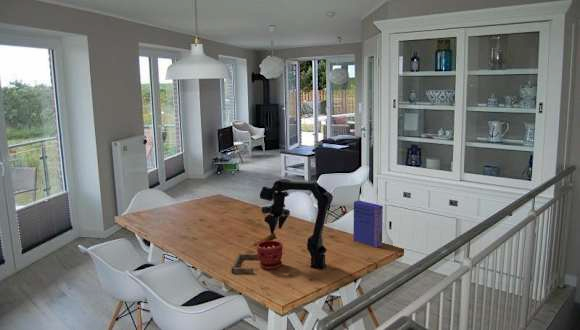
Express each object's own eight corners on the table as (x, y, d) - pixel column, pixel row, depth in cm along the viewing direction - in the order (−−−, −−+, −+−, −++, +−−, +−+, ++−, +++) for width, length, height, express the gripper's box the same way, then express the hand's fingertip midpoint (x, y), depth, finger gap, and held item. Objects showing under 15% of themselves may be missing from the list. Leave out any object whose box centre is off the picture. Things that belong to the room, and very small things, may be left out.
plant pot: (285, 262, 247) (285, 240, 245) (278, 271, 234) (278, 249, 232) (262, 260, 250) (261, 238, 248) (254, 269, 237) (253, 247, 235)
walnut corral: (258, 258, 253) (258, 254, 252) (252, 273, 233) (252, 268, 232) (239, 258, 253) (238, 253, 253) (231, 273, 233) (231, 268, 233)
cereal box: (382, 245, 269) (382, 205, 264) (376, 247, 265) (377, 207, 261) (358, 238, 281) (359, 200, 277) (353, 240, 278) (353, 201, 274)
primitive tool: (259, 247, 270) (259, 241, 270) (251, 246, 273) (251, 240, 272) (276, 237, 287) (276, 232, 287) (268, 236, 290) (268, 231, 289)
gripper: (273, 195, 255) (270, 222, 259) (256, 203, 239) (254, 232, 242) (291, 200, 251) (288, 227, 255) (276, 208, 234) (273, 237, 238)
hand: (275, 230), depth 247 cm, fingers open, 9 cm apart
